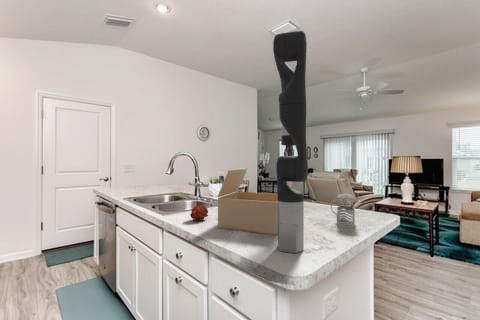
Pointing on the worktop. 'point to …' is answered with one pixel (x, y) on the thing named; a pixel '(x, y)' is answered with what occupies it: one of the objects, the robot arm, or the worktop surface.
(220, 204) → the carton
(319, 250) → the worktop surface
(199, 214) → the dragon fruit
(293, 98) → the robot arm
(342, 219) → the french press
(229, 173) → the flap left
